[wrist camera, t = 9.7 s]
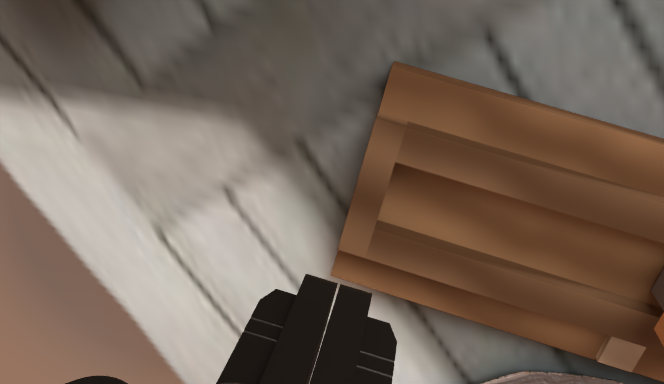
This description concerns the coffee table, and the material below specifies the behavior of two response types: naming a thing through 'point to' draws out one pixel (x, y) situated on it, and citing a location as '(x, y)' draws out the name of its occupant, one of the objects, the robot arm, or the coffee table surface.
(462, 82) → the console
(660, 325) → the fader
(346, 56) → the coffee table surface
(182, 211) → the coffee table surface
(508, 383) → the food plate
